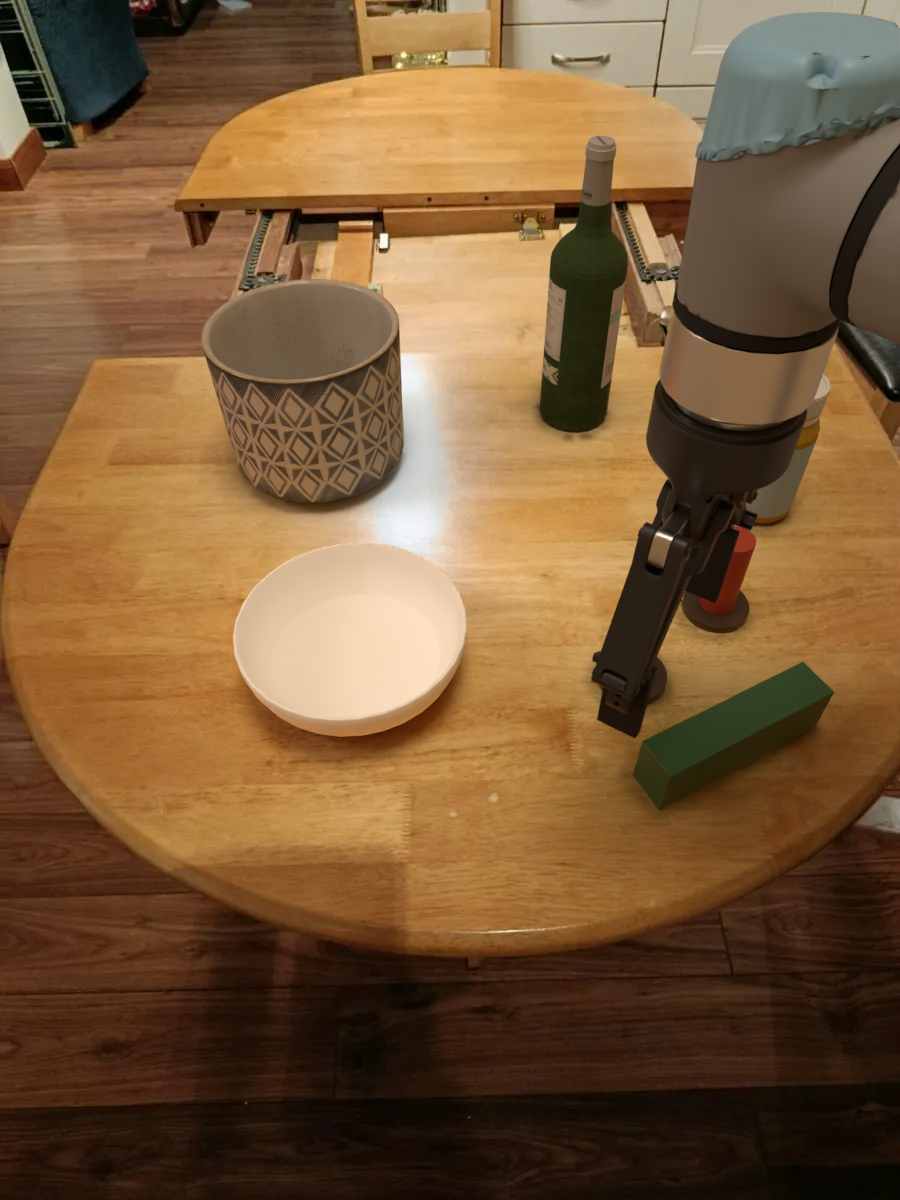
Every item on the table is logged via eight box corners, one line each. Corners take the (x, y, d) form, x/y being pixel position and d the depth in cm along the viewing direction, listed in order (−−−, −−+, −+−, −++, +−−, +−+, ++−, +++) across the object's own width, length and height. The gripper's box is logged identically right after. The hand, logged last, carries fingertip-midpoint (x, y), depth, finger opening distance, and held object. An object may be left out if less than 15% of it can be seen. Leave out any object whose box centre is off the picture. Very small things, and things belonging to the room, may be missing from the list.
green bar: (815, 727, 70) (834, 691, 67) (659, 810, 65) (670, 777, 62) (786, 697, 72) (803, 661, 69) (632, 775, 68) (641, 740, 64)
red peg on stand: (760, 609, 79) (787, 540, 72) (721, 643, 76) (745, 574, 70) (707, 575, 82) (729, 505, 75) (668, 606, 79) (686, 537, 73)
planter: (433, 488, 91) (428, 353, 79) (259, 537, 87) (224, 402, 74) (375, 394, 103) (363, 264, 91) (219, 433, 99) (184, 301, 86)
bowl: (223, 758, 69) (206, 715, 65) (271, 584, 82) (259, 538, 78) (462, 768, 68) (461, 725, 64) (471, 590, 81) (472, 544, 77)
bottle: (750, 535, 86) (793, 411, 75) (706, 495, 90) (740, 372, 79) (803, 513, 88) (852, 390, 77) (758, 475, 92) (798, 352, 81)
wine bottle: (535, 395, 103) (553, 126, 80) (599, 391, 103) (635, 123, 81) (543, 434, 97) (565, 159, 75) (612, 431, 98) (654, 155, 75)
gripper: (746, 268, 51) (681, 529, 66) (546, 504, 37) (523, 763, 53) (875, 301, 48) (775, 565, 64) (711, 570, 34) (635, 822, 50)
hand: (661, 655), depth 58 cm, fingers open, 13 cm apart
